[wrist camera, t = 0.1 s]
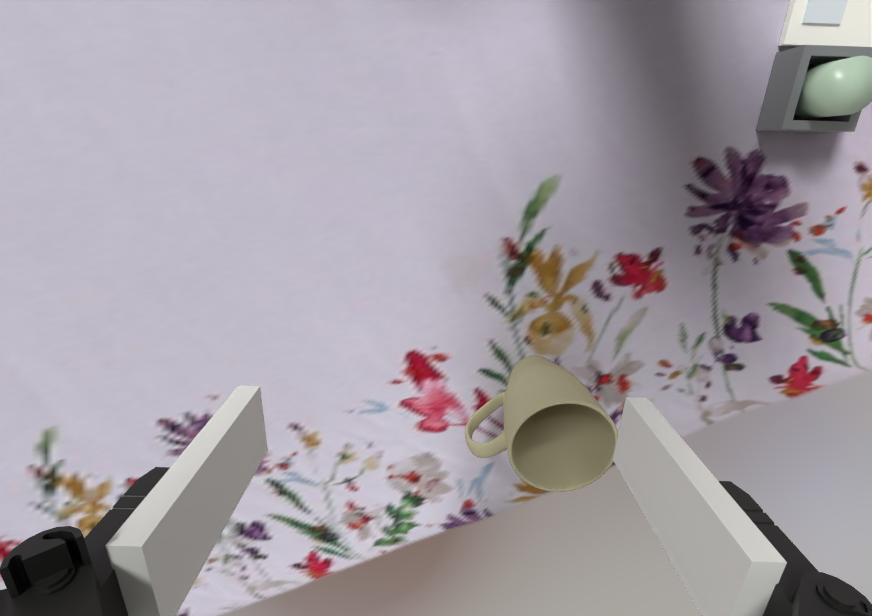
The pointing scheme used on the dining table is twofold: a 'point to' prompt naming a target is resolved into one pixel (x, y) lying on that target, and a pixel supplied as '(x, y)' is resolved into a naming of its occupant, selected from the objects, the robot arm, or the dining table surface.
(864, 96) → the button
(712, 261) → the dining table surface
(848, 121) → the button housing
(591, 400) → the mug
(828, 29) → the cream square board
